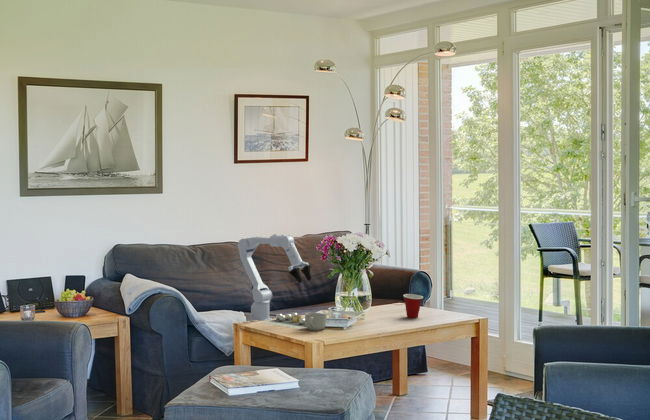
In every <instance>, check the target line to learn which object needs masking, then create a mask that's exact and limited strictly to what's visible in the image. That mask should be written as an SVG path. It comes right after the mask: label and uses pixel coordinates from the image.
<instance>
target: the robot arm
mask: <svg viewBox="0 0 650 420" xmlns="http://www.w3.org/2000/svg"><path fill="white" fill-rule="evenodd" d="M261 244H262V245H268V244H269V246H270V247H274V248H275V247H278V248H279V247H280V248H282V249H283V250H284V251H285V253H286V256H287V258H288V259H289V260H288V261H289V263H290V264H291V265H289V266H287V269H288V271H289V272H288V273H289V275H291V276H292V277H293V278H294V279H295V280H296V282H298V284H301V283H302V282H303V278H302V274H303V275H304V276H305V278H306V280H307V281H308V282H310V281H312V274H311V264H309V262H308V261H307V262H305V260H304V261H303V260H302V257H301V255H300V253H299V251H298V249H297V247H296V245H295V238H294V236H293V235H290V234H289V235H285V234H281V235H277V234H276V233H274V234H272V235H271V236H269V237H264V236H263V237H262V236H253V237H248V238H247V237H246V238H241V239H239V240H238V242H237V248H238V252H239V259H240V262H242V263H241V264H242V265H243V268H244V269H245V272H246V274H247V277H248V278H249V281H250V283H251V284H252V287H253V288H252V290H251V294H252V298H253V301H254V302H252V304H251V306H250V318H249V319H250V320H254V321H263V322H266V321H271V320H274V319H273V318H272V317H270V303H271V300H272V299H273V292H272V290H271V289H269V287H268V285H267V284H265V283H264V282H263V281H262V278H261V276H260V273H259V271H258V269H257V267H256V264H255V263H254V260H253V258H252V255H253V254H254V252H255V251H256V250H257V248H258V246H260V245H261ZM300 269H301V270H300ZM301 273H302V274H301Z"/></svg>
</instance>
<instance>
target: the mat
mask: <svg viewBox="0 0 650 420" xmlns="http://www.w3.org/2000/svg"><path fill="white" fill-rule="evenodd" d="M262 324H266V325H272V326H277V327H284V328H290V329H295V330H296V329H297V330H300V329H303V328H307V327H306V326H305V325H299V323H293V322H292V319H291V320H290V321H286V320H285V322H279V320H276V319H271V320H267V321H263V322H262Z"/></svg>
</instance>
